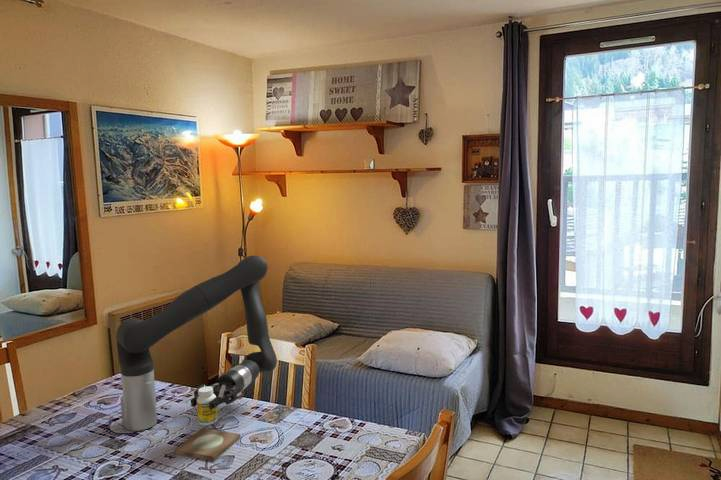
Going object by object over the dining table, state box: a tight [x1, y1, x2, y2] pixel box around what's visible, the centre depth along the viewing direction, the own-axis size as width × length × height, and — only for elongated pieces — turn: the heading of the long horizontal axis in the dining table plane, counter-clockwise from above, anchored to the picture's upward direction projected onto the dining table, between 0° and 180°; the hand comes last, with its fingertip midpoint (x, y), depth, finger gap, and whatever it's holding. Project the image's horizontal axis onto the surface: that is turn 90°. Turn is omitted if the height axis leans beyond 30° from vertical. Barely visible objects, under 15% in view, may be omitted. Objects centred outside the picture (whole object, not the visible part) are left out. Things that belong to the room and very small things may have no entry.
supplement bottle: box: [196, 385, 219, 426], centre depth 149 cm, size 5×5×10 cm
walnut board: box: [173, 427, 241, 462], centre depth 150 cm, size 13×13×1 cm
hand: (201, 404), depth 147 cm, fingers closed on supplement bottle, 5 cm apart
